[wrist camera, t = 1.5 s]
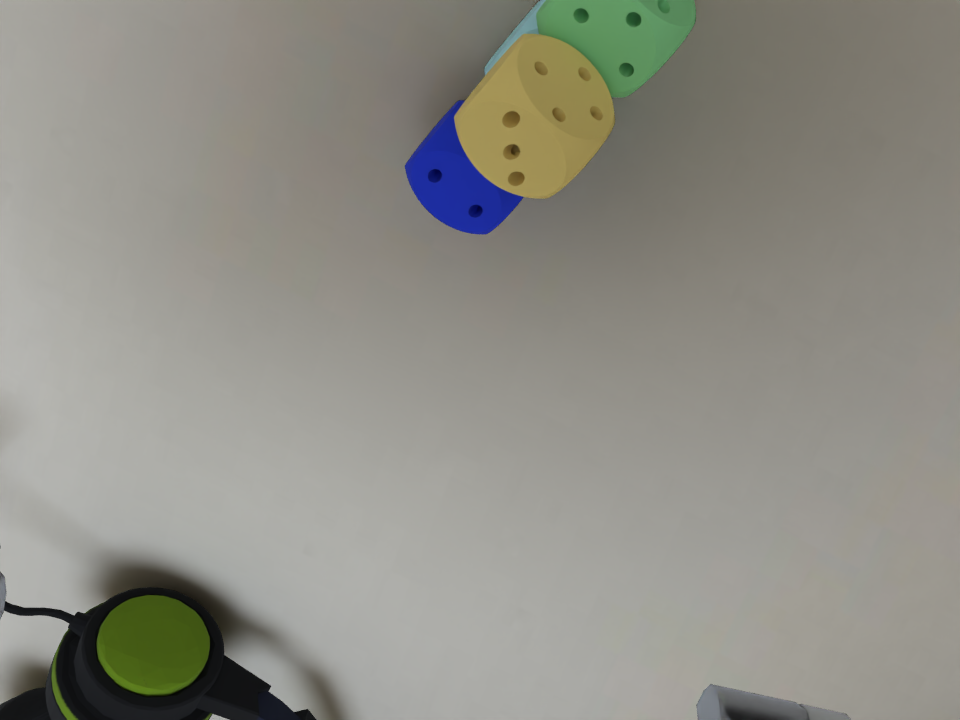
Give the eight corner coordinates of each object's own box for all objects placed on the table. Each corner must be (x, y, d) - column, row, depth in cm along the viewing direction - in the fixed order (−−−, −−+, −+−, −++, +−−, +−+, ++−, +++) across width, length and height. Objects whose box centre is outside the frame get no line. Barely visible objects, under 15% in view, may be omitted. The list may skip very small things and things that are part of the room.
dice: (485, 207, 26) (452, 307, 20) (415, 146, 25) (360, 232, 19) (697, -17, 22) (726, 28, 16) (620, -97, 21) (625, -76, 16)
